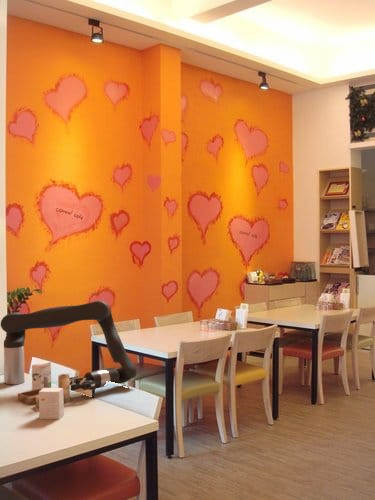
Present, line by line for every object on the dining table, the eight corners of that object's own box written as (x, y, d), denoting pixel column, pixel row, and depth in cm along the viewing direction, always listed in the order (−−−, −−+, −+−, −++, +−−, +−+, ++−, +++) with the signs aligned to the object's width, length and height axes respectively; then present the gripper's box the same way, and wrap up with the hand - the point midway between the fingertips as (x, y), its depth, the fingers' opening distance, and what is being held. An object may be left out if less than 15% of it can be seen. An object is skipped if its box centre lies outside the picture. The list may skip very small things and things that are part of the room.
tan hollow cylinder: (56, 401, 236) (56, 375, 236) (65, 399, 239) (65, 373, 239) (62, 403, 233) (62, 376, 233) (71, 401, 236) (71, 374, 236)
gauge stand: (35, 406, 229) (35, 376, 229) (49, 403, 233) (48, 374, 233) (43, 409, 225) (43, 379, 225) (56, 406, 229) (56, 376, 229)
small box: (64, 414, 217) (63, 387, 217) (59, 419, 212) (59, 391, 211) (44, 414, 218) (43, 387, 218) (38, 419, 212) (38, 391, 212)
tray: (17, 399, 239) (17, 393, 239) (41, 394, 247) (41, 388, 247) (31, 404, 231) (31, 398, 231) (55, 399, 239) (55, 393, 239)
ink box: (42, 386, 261) (42, 360, 261) (51, 386, 260) (51, 361, 260) (31, 390, 253) (31, 364, 253) (40, 391, 252) (40, 365, 251)
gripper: (87, 368, 253) (56, 374, 241) (106, 373, 243) (74, 380, 231) (87, 385, 253) (56, 392, 242) (107, 390, 243) (75, 398, 231)
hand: (65, 386), depth 236 cm, fingers open, 8 cm apart
